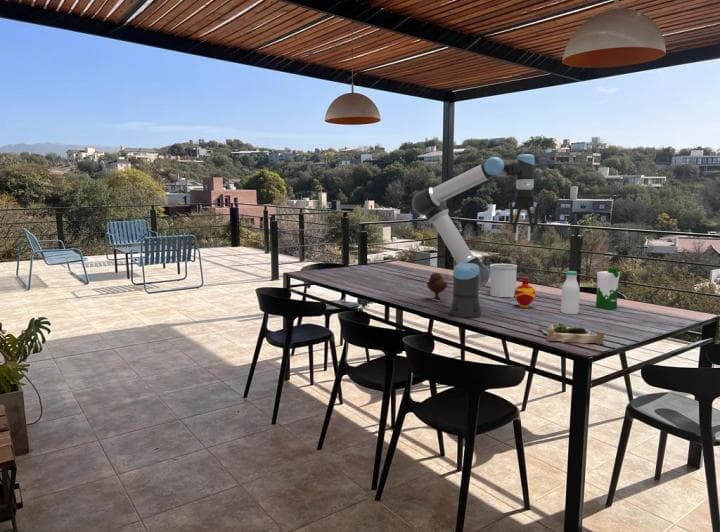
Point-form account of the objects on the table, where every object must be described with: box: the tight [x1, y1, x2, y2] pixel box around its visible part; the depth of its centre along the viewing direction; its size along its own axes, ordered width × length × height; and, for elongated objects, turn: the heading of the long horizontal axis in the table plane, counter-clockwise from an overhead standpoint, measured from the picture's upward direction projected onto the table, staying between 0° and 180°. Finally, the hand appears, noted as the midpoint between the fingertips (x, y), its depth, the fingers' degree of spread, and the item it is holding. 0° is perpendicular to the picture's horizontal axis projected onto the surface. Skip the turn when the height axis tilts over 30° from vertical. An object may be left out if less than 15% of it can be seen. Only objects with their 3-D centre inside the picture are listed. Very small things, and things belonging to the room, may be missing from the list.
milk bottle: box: [560, 270, 580, 315], centre depth 236 cm, size 8×8×20 cm
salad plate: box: [537, 322, 593, 335], centre depth 199 cm, size 19×18×5 cm
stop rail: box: [546, 329, 605, 345], centre depth 186 cm, size 19×3×4 cm, turn 80°
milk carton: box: [595, 267, 621, 310], centre depth 249 cm, size 9×9×20 cm
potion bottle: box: [514, 276, 537, 309], centre depth 251 cm, size 10×10×15 cm
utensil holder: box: [489, 263, 518, 298], centre depth 281 cm, size 15×15×18 cm
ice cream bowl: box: [426, 272, 448, 300], centre depth 267 cm, size 11×11×15 cm
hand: (522, 240), depth 230 cm, fingers open, 5 cm apart
